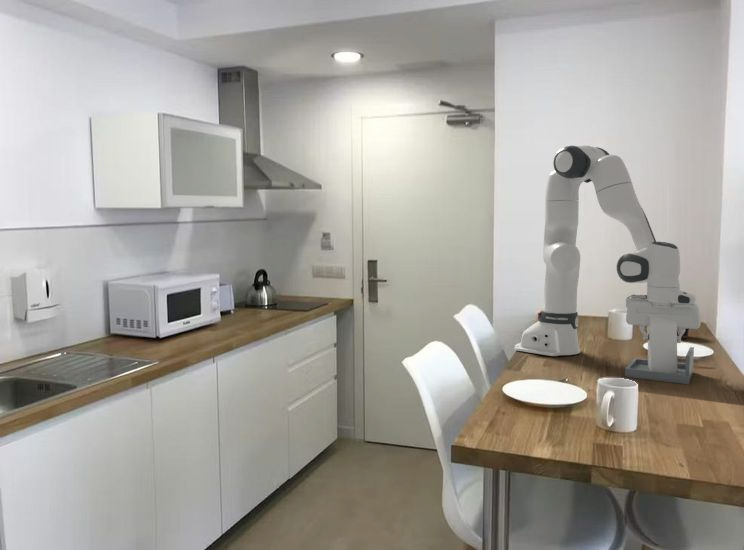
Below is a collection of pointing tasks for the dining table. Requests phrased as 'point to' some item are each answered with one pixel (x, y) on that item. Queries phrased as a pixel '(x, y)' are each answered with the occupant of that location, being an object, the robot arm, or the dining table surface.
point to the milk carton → (662, 345)
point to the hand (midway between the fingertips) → (661, 341)
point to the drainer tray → (641, 370)
